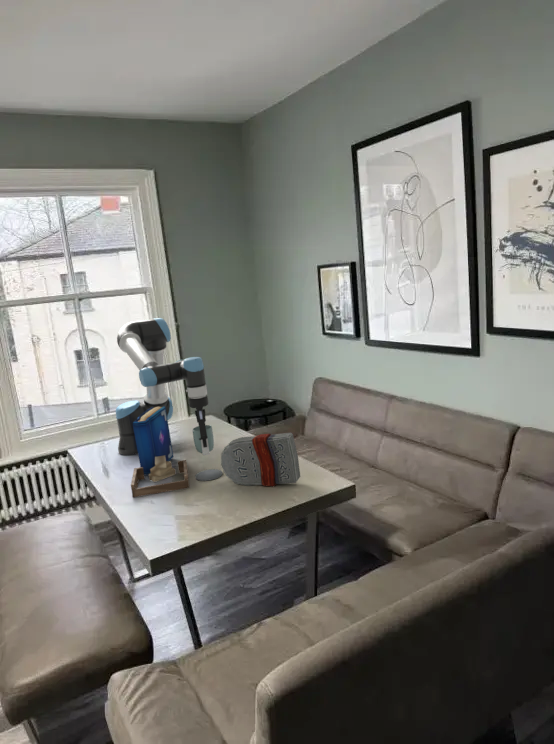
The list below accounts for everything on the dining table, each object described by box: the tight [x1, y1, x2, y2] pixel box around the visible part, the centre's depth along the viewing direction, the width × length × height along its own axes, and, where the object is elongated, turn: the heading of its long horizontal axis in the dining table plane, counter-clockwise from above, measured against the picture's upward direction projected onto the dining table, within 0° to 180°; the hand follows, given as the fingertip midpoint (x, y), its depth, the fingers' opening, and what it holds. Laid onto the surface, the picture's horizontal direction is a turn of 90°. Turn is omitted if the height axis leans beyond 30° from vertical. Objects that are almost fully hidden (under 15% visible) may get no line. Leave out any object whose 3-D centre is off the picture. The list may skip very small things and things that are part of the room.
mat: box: [194, 468, 223, 482], centre depth 226 cm, size 11×11×1 cm
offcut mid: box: [150, 460, 173, 476], centre depth 229 cm, size 4×9×3 cm, turn 161°
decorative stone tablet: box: [220, 432, 301, 487], centre depth 210 cm, size 19×6×30 cm
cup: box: [192, 424, 215, 454], centre depth 223 cm, size 8×8×10 cm
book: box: [133, 406, 174, 476], centre depth 240 cm, size 22×7×25 cm, turn 169°
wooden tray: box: [130, 459, 190, 498], centre depth 222 cm, size 19×21×5 cm
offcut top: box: [155, 455, 166, 470], centre depth 229 cm, size 4×8×3 cm, turn 12°
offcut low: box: [148, 467, 177, 483], centre depth 230 cm, size 4×10×3 cm, turn 131°
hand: (205, 451), depth 224 cm, fingers closed on cup, 8 cm apart
